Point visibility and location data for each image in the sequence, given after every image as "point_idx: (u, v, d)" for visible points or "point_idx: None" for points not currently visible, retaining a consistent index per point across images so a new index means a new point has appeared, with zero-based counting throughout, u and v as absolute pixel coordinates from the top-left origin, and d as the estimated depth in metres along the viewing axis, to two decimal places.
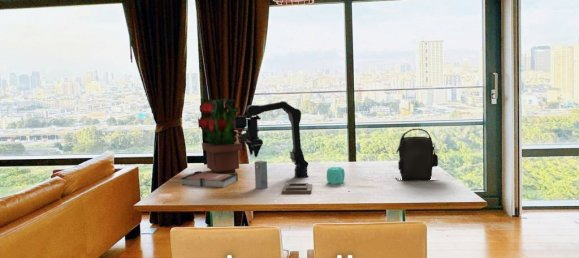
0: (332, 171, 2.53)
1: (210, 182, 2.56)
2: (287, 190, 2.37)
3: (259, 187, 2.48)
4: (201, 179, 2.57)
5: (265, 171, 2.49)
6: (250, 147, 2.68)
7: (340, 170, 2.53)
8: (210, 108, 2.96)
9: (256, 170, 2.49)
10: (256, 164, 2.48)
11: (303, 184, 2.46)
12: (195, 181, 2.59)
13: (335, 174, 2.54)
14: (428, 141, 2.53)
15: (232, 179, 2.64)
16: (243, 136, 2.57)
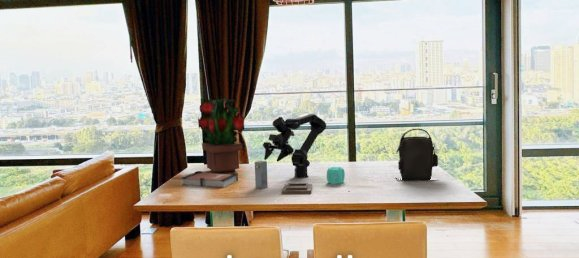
0: (332, 171, 2.53)
1: (210, 182, 2.56)
2: (287, 190, 2.37)
3: (259, 187, 2.48)
4: (201, 179, 2.57)
5: (265, 171, 2.49)
6: (267, 153, 2.60)
7: (340, 170, 2.53)
8: (210, 108, 2.96)
9: (256, 170, 2.49)
10: (256, 164, 2.48)
11: (303, 184, 2.46)
12: (195, 181, 2.60)
13: (335, 174, 2.54)
14: (428, 141, 2.53)
15: (232, 179, 2.64)
16: (280, 136, 2.54)
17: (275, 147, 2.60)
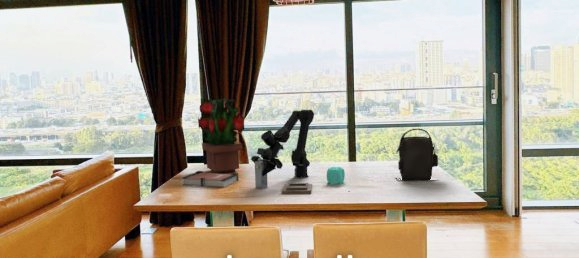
0: (332, 171, 2.53)
1: (211, 182, 2.57)
2: (287, 190, 2.37)
3: (259, 187, 2.48)
4: (202, 179, 2.58)
5: None
6: None
7: (340, 170, 2.53)
8: (210, 108, 2.96)
9: (256, 170, 2.49)
10: (256, 164, 2.48)
11: (303, 184, 2.46)
12: (196, 181, 2.60)
13: (335, 174, 2.54)
14: (428, 141, 2.53)
15: (233, 179, 2.64)
16: (269, 150, 2.47)
17: None
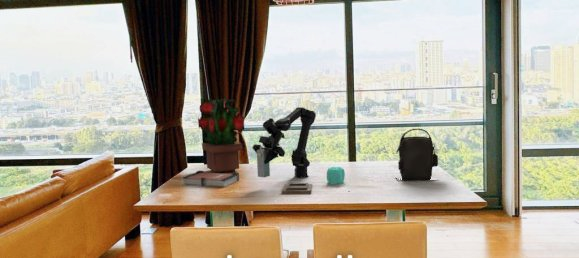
0: (332, 171, 2.53)
1: (211, 181, 2.57)
2: (287, 190, 2.37)
3: (261, 175, 2.47)
4: (202, 178, 2.58)
5: None
6: None
7: (340, 170, 2.53)
8: (210, 108, 2.96)
9: (258, 158, 2.47)
10: (258, 152, 2.46)
11: (303, 184, 2.46)
12: (196, 180, 2.61)
13: (335, 174, 2.54)
14: (428, 141, 2.53)
15: (233, 179, 2.65)
16: (271, 138, 2.46)
17: None
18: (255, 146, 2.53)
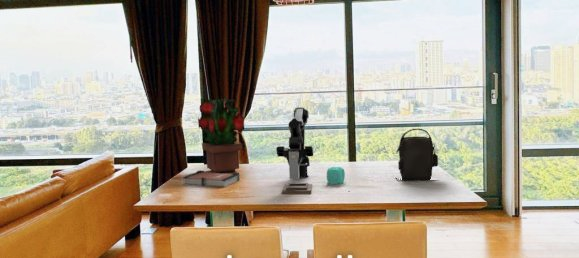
0: (332, 171, 2.53)
1: (211, 181, 2.58)
2: (287, 190, 2.37)
3: (295, 177, 2.40)
4: (202, 178, 2.59)
5: None
6: None
7: (340, 170, 2.53)
8: (210, 108, 2.96)
9: (291, 160, 2.39)
10: (291, 154, 2.39)
11: (303, 184, 2.46)
12: (197, 180, 2.61)
13: (335, 174, 2.54)
14: (428, 141, 2.53)
15: (233, 178, 2.65)
16: (302, 138, 2.42)
17: None
18: (280, 148, 2.43)
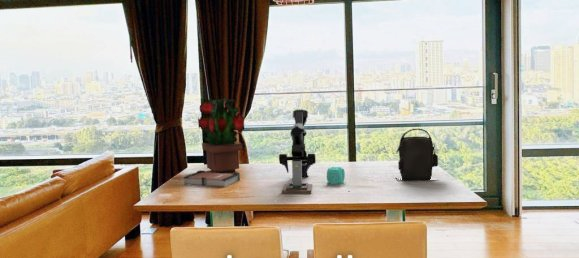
0: (332, 171, 2.53)
1: (212, 181, 2.58)
2: (287, 190, 2.37)
3: None
4: (203, 178, 2.59)
5: (301, 170, 2.42)
6: (287, 165, 2.43)
7: (340, 170, 2.53)
8: (210, 108, 2.96)
9: (294, 170, 2.39)
10: (294, 163, 2.39)
11: (303, 184, 2.46)
12: (197, 180, 2.61)
13: (335, 174, 2.54)
14: (428, 141, 2.53)
15: (234, 178, 2.65)
16: None
17: (294, 158, 2.45)
18: (283, 156, 2.43)
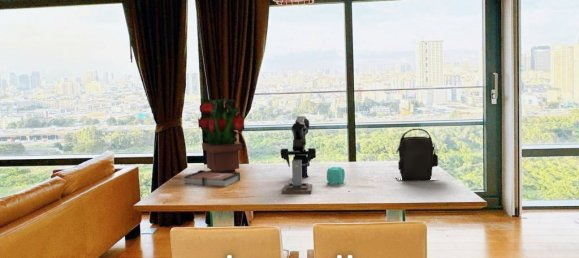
0: (332, 171, 2.53)
1: (212, 181, 2.58)
2: (287, 190, 2.37)
3: None
4: (203, 178, 2.59)
5: (301, 170, 2.42)
6: None
7: (340, 170, 2.53)
8: (210, 108, 2.96)
9: (294, 170, 2.39)
10: (294, 163, 2.39)
11: (303, 184, 2.46)
12: (197, 180, 2.62)
13: (335, 174, 2.54)
14: (428, 141, 2.53)
15: (234, 178, 2.65)
16: (305, 141, 2.52)
17: (295, 153, 2.55)
18: (284, 150, 2.53)
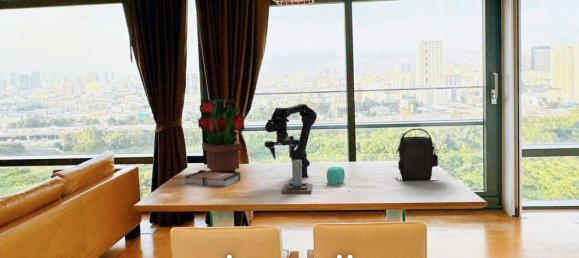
0: (332, 171, 2.53)
1: (212, 181, 2.59)
2: (287, 190, 2.37)
3: None
4: (204, 178, 2.60)
5: (301, 170, 2.42)
6: None
7: (340, 170, 2.53)
8: (210, 108, 2.96)
9: (294, 170, 2.39)
10: (294, 163, 2.39)
11: (303, 184, 2.46)
12: (198, 180, 2.62)
13: (335, 174, 2.54)
14: (428, 141, 2.53)
15: (234, 178, 2.66)
16: None
17: (279, 144, 2.60)
18: (271, 145, 2.56)
